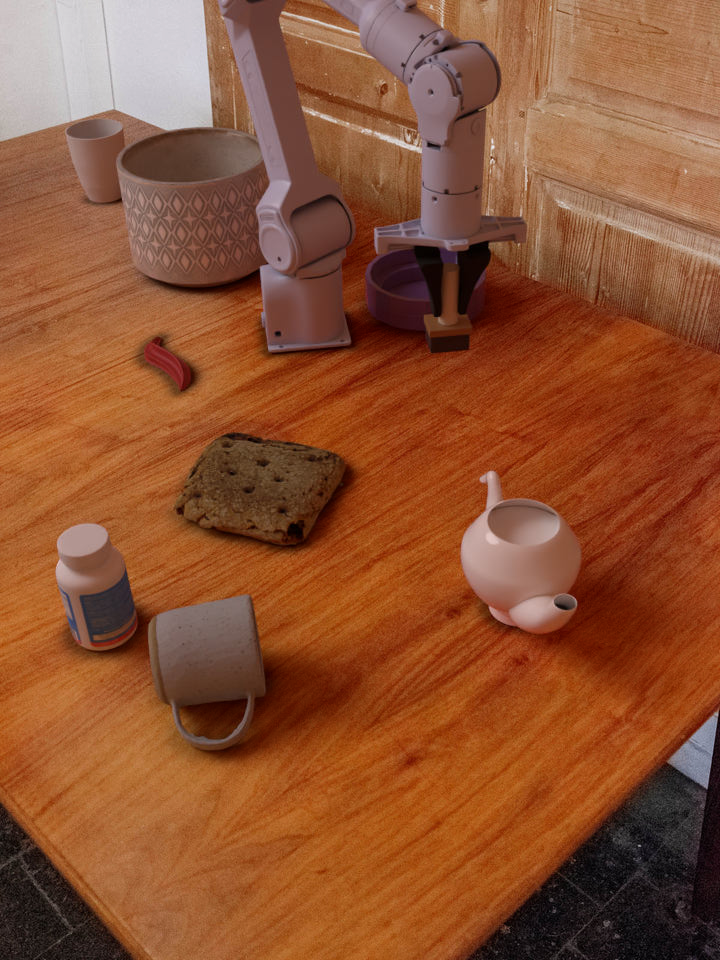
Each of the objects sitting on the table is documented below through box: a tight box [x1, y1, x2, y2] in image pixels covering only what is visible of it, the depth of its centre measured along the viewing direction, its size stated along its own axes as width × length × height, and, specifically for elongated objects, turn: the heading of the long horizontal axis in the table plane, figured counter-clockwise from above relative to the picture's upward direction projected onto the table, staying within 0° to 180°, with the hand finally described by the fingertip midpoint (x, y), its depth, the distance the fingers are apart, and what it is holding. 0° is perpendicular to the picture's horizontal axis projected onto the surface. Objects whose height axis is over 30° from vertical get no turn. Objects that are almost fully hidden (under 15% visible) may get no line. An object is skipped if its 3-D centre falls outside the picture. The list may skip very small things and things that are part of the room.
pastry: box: [173, 431, 346, 546], centre depth 103 cm, size 17×17×3 cm
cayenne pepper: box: [143, 336, 192, 392], centre depth 122 cm, size 12×5×2 cm, turn 14°
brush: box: [424, 263, 474, 355], centre depth 110 cm, size 4×3×9 cm
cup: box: [64, 118, 126, 204], centre depth 158 cm, size 8×8×10 cm
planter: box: [116, 126, 270, 288], centre depth 139 cm, size 19×19×14 cm
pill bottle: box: [55, 522, 139, 652], centre depth 87 cm, size 6×5×10 cm
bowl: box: [364, 247, 487, 332], centre depth 131 cm, size 14×14×4 cm
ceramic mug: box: [147, 594, 267, 751], centre depth 82 cm, size 11×8×8 cm
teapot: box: [460, 470, 583, 635], centre depth 88 cm, size 10×20×9 cm, turn 12°
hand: (448, 311), depth 110 cm, fingers closed on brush, 2 cm apart
